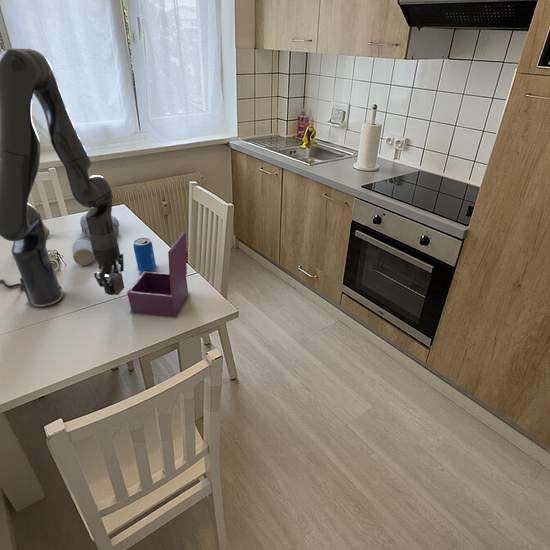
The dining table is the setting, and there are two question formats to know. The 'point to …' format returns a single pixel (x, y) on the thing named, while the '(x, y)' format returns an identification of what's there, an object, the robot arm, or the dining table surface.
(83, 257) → the ceramic mug
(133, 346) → the dining table surface
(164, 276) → the file box
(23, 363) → the dining table surface
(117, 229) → the grey rounded bag
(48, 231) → the fennel bulb
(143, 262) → the beverage can
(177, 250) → the lid
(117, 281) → the block
